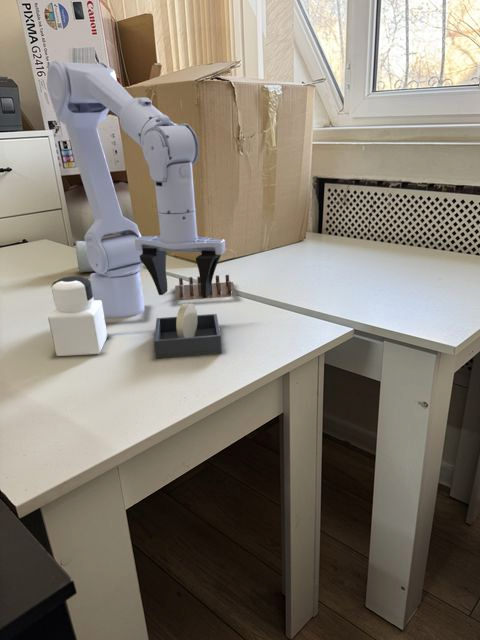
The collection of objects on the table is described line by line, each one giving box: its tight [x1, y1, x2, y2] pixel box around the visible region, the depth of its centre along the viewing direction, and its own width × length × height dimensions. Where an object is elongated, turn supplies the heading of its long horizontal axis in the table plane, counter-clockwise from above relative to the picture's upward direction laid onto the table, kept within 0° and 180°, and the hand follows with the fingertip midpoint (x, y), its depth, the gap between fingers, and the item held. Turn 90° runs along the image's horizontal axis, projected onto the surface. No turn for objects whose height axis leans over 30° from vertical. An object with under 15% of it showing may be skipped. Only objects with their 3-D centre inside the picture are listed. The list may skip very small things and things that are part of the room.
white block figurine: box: [47, 275, 108, 357], centre depth 84 cm, size 7×7×12 cm
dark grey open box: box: [153, 313, 223, 359], centre depth 87 cm, size 11×10×3 cm
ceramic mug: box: [75, 240, 95, 273], centre depth 128 cm, size 10×8×8 cm
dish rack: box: [174, 274, 238, 301], centre depth 110 cm, size 13×10×3 cm
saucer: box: [176, 302, 198, 338], centre depth 86 cm, size 1×6×6 cm, turn 165°
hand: (184, 294), depth 84 cm, fingers open, 7 cm apart
